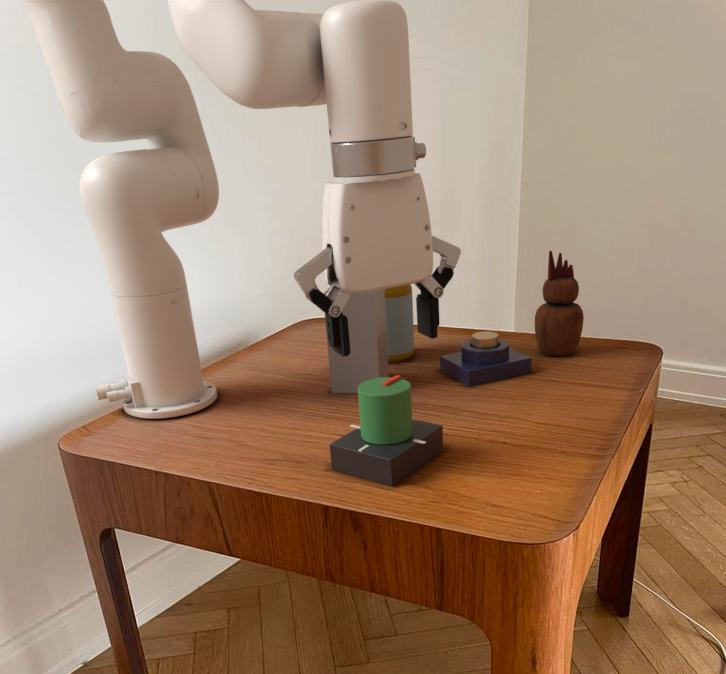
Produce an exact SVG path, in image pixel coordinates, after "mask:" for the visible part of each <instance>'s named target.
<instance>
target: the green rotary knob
mask: <svg viewBox="0 0 726 674" xmlns="http://www.w3.org/2000/svg"><path fill="white" fill-rule="evenodd" d="M357 398H358V414H359V415H358V416H359V426H360V429H361V437H362V439H363V440H365V441H366V442H369V443H372V444H379V445H389V444H396V443H400V442H403V441H405V440H407V439H409V438H410V437H411V436H412V434H413V427H412V418H413V404H412V401H413V399H412V384H411V383H410V381H409V380H406V379H404V378H402V375H398V374H396V375H394V376H389V377H383V378H375V379H371V380H367V381H365V382H363V383H361V384H360V385H359V386H358V393H357Z"/></svg>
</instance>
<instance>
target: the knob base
mask: <svg viewBox="0 0 726 674" xmlns="http://www.w3.org/2000/svg"><path fill="white" fill-rule="evenodd" d="M412 427H413V434H412V436H411V437H410V438H409V439H407V440H405V441H403V442H400V443H396V444H389V445H379V444H372V443H369V442H366V441H365V440H363V439H362V437H361V429H360V425H356V424H350V425H349V428H353V430H352V431H349V432H348V433H346V434H344V435H343V436H341V437H340V438H338V439H336V440H335V441H333V442H331V443H329V454H330V464H331V470H332V471H335V472H340V473H343V474H347V475H351V476H353V477H359V478H362V479H365V480H369V481H372V482H375V483H380V484H383V485H386V486H391V487H393V486H395V485H396V484H397V483H399V482H400V481H402V480H403V479H405V478H406V477H407V476H409V475H410V474H412V473H413V472H415V471H416V470H417V469H419V468H420V467H421V466H423V465H424V464H426V463H427V462H428V461H429V460H431V459H432V458H434V457H435V456H437V455H438V454H440V453H441V452H442V451H444V431H443V430H444V429H443V427H444V426H443V425H442V424H438V423H432V422H428V421H423V420H420V419H414V417H412Z"/></svg>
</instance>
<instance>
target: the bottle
mask: <svg viewBox="0 0 726 674" xmlns="http://www.w3.org/2000/svg"><path fill="white" fill-rule="evenodd" d="M384 291H385V311H386V331H387V351H388V364H390V363H399V362H400V363H401V362H403V361H404V362H405V361H406V360H409V359H411V357H413V355H414V353H415V329H414V328H415V327H414V301H413V287H412V284H409V285H403V286H398V287H392V288H387V289H384Z"/></svg>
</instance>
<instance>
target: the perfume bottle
mask: <svg viewBox="0 0 726 674" xmlns="http://www.w3.org/2000/svg"><path fill="white" fill-rule="evenodd" d="M328 290H329V288H327V289H326V290H325V291H324V292H322V293H323V294H325V295H326V293H327V291H328ZM342 313H343V315H345V316H347V319H348V329H349V341H350V352H351V353H350V354H349V356H345V357H343V356H342V355H340V354H338V353H337V352H335V351H334V350H333V348H332V347H331V346H330V345H329V342H328V335H327V326H326V325H325V332H326V333H325V334H326V343H327V344H326V345H327V356H328V366H329V379H330V388H331V389H330V390H331V394H358V386H359V385H360V384H361V383H363V382H365V381H367V380H371V379H375V378H383V377H390V375H389V373H390V371H389V363H388V351H387V331H386V311H385V291H384V289H381V290H375V291H369V292H363V293H353V294H352V296H351V297H350V299H349V301H348V302H347V304H346V306H345V307H344V309H343V311H342ZM324 320H325V321H324V322H325V323H326V316H325V315H324Z"/></svg>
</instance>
